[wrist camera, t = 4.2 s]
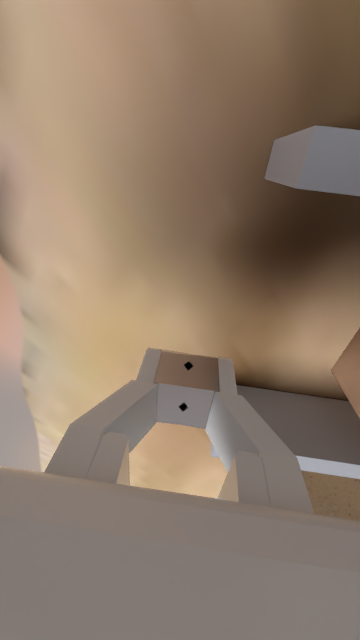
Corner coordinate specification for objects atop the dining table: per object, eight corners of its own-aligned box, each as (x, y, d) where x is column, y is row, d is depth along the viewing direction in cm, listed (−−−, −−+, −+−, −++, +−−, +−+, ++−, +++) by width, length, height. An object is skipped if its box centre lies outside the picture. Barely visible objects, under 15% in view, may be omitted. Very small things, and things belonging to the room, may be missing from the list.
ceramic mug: (370, 453, 18) (458, 619, 11) (355, 504, 22) (414, 647, 15) (222, 455, 20) (226, 593, 14) (234, 501, 24) (242, 623, 18)
